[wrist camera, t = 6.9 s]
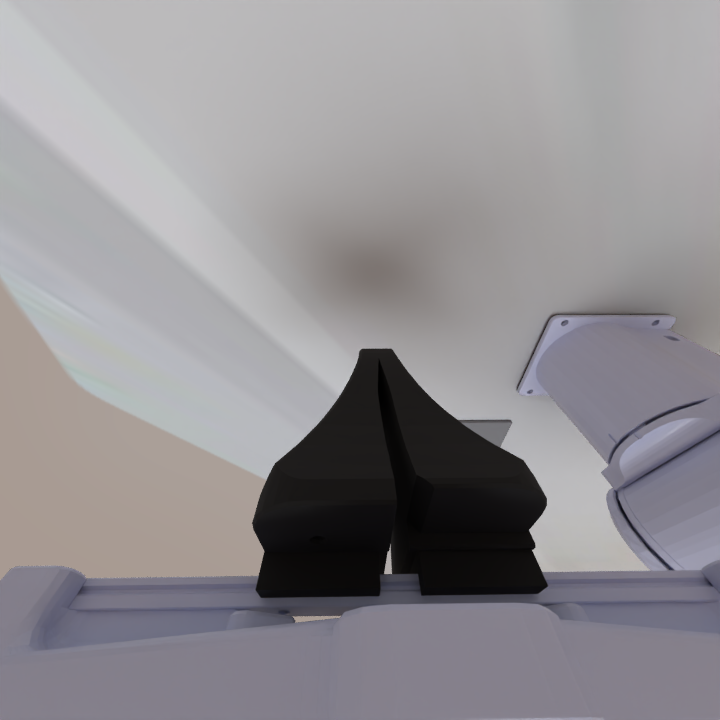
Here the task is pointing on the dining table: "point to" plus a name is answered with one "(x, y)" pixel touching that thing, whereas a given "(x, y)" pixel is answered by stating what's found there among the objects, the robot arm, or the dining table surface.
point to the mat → (490, 429)
